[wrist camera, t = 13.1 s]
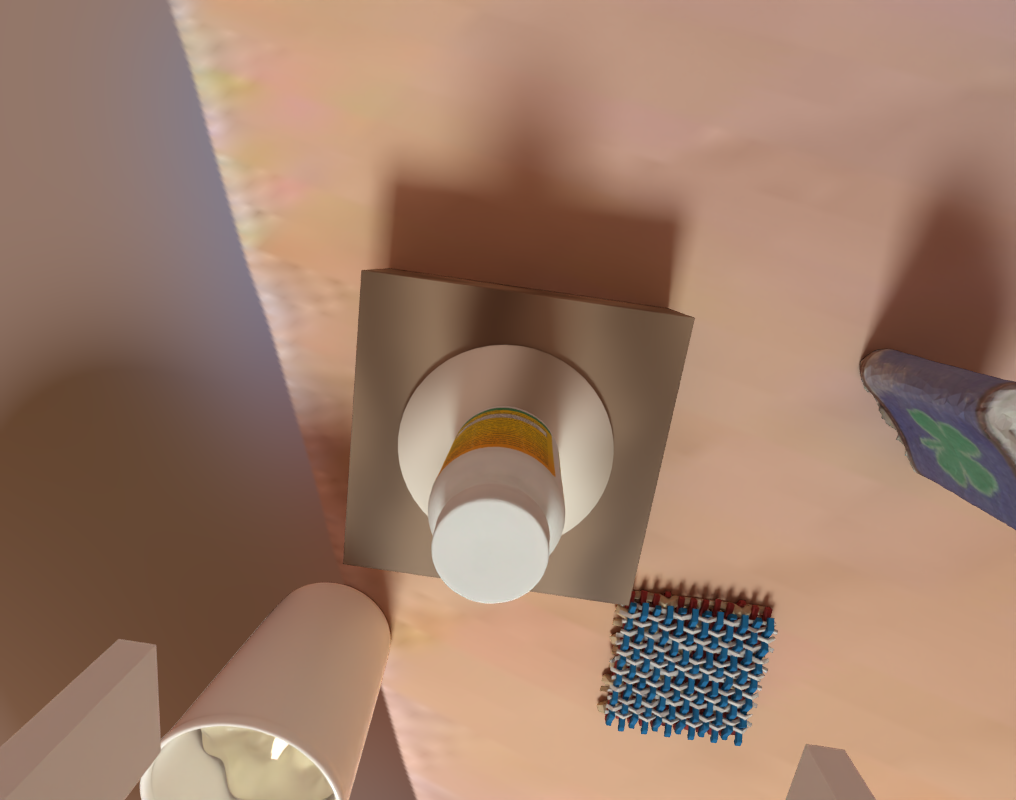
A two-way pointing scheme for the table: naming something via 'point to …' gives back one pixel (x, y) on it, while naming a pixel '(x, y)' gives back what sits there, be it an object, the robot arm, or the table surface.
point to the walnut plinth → (517, 383)
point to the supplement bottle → (497, 506)
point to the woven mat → (715, 675)
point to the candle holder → (282, 707)
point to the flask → (951, 426)
